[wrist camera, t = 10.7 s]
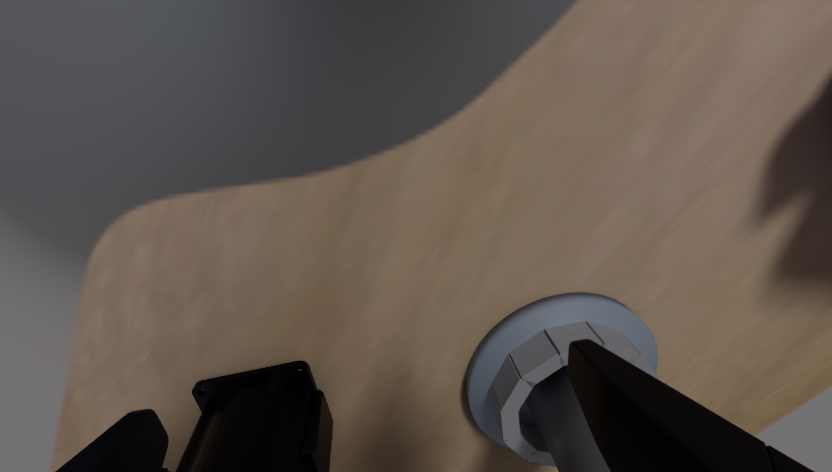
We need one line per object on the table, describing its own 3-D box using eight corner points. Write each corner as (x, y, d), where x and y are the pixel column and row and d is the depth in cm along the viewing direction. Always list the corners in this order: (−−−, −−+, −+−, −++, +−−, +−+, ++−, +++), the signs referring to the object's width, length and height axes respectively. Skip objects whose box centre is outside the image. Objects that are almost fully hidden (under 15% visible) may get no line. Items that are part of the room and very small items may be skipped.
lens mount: (474, 455, 28) (487, 498, 26) (455, 315, 23) (467, 349, 21) (640, 419, 29) (669, 457, 26) (655, 274, 24) (693, 303, 21)
